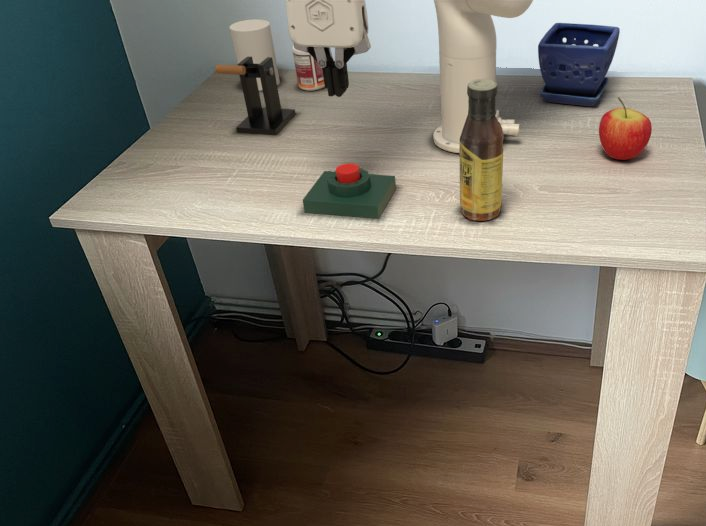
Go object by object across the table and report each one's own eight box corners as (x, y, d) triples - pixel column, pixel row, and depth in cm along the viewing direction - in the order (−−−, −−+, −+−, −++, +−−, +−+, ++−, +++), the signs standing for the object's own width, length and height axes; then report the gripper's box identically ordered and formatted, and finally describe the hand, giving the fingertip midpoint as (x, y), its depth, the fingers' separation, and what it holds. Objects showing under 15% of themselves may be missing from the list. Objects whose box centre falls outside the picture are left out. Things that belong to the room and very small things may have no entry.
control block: (396, 188, 117) (394, 165, 115) (378, 218, 110) (376, 195, 107) (326, 182, 120) (322, 160, 117) (304, 212, 112) (300, 189, 110)
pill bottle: (322, 79, 158) (314, 25, 151) (331, 87, 153) (324, 33, 146) (294, 84, 156) (285, 30, 149) (303, 93, 151) (294, 38, 144)
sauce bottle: (458, 204, 112) (455, 75, 100) (498, 201, 113) (500, 72, 100) (462, 226, 107) (460, 92, 95) (504, 223, 108) (508, 89, 95)
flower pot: (601, 112, 138) (608, 47, 130) (533, 105, 142) (536, 42, 134) (614, 87, 147) (621, 25, 139) (550, 81, 151) (553, 21, 143)
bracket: (276, 135, 136) (264, 71, 128) (236, 132, 137) (222, 69, 130) (295, 114, 143) (285, 52, 135) (258, 112, 145) (246, 51, 137)
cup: (284, 77, 160) (274, 19, 152) (274, 90, 153) (263, 31, 146) (248, 77, 160) (236, 19, 153) (236, 90, 154) (224, 31, 147)
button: (363, 174, 114) (362, 164, 112) (356, 185, 111) (354, 174, 110) (341, 172, 114) (340, 162, 113) (333, 183, 112) (332, 172, 110)
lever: (242, 77, 124) (241, 62, 123) (215, 76, 125) (214, 61, 124) (272, 78, 135) (272, 64, 134) (248, 77, 136) (247, 63, 135)
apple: (600, 143, 127) (606, 86, 121) (650, 148, 125) (659, 91, 118) (592, 163, 121) (598, 105, 115) (643, 169, 119) (653, 110, 113)
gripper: (253, -45, 91) (279, 100, 103) (367, -43, 88) (380, 105, 100) (276, -57, 97) (298, 81, 108) (384, -57, 94) (395, 86, 105)
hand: (337, 92), depth 104 cm, fingers closed
